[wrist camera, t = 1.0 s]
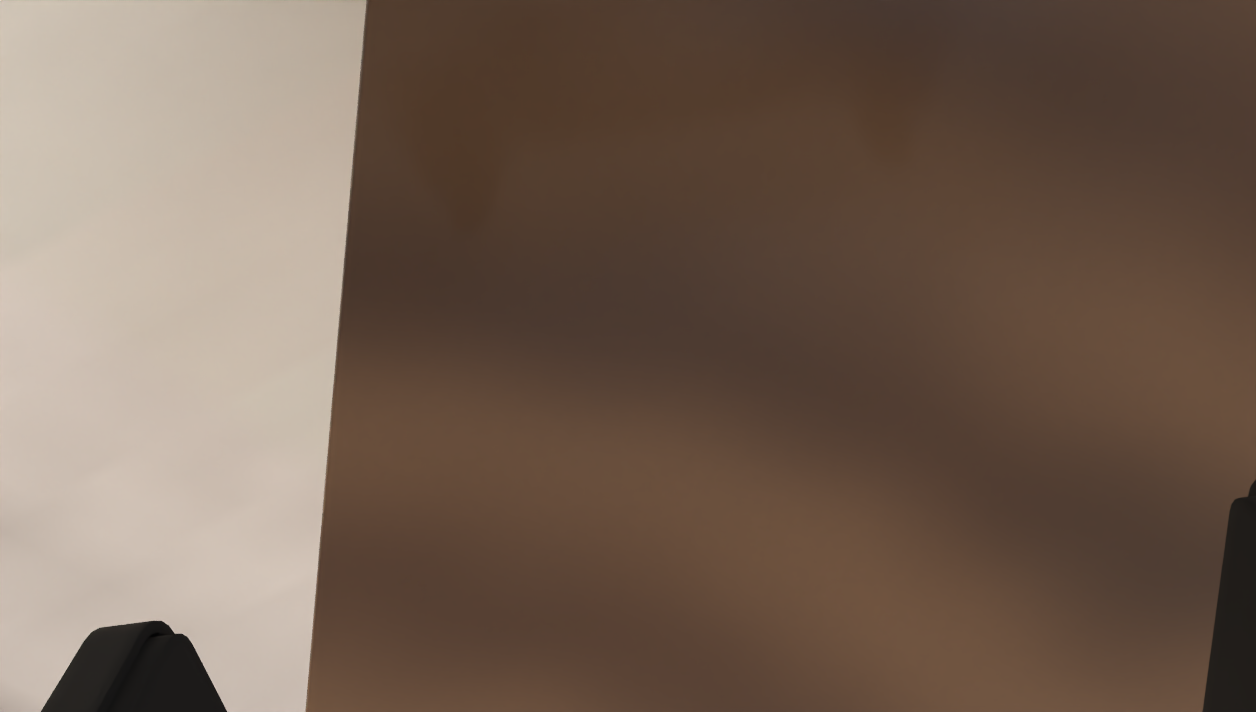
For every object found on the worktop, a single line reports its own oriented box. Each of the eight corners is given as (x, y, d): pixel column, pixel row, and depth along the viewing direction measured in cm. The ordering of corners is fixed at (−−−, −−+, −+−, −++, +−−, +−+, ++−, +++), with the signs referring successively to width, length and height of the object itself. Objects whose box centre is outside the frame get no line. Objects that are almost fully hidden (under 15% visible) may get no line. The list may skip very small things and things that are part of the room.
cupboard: (547, -275, 33) (392, -302, 13) (1312, -89, 36) (2241, 145, 15) (470, 243, 42) (303, 730, 21) (1088, 364, 45) (1477, 908, 24)
